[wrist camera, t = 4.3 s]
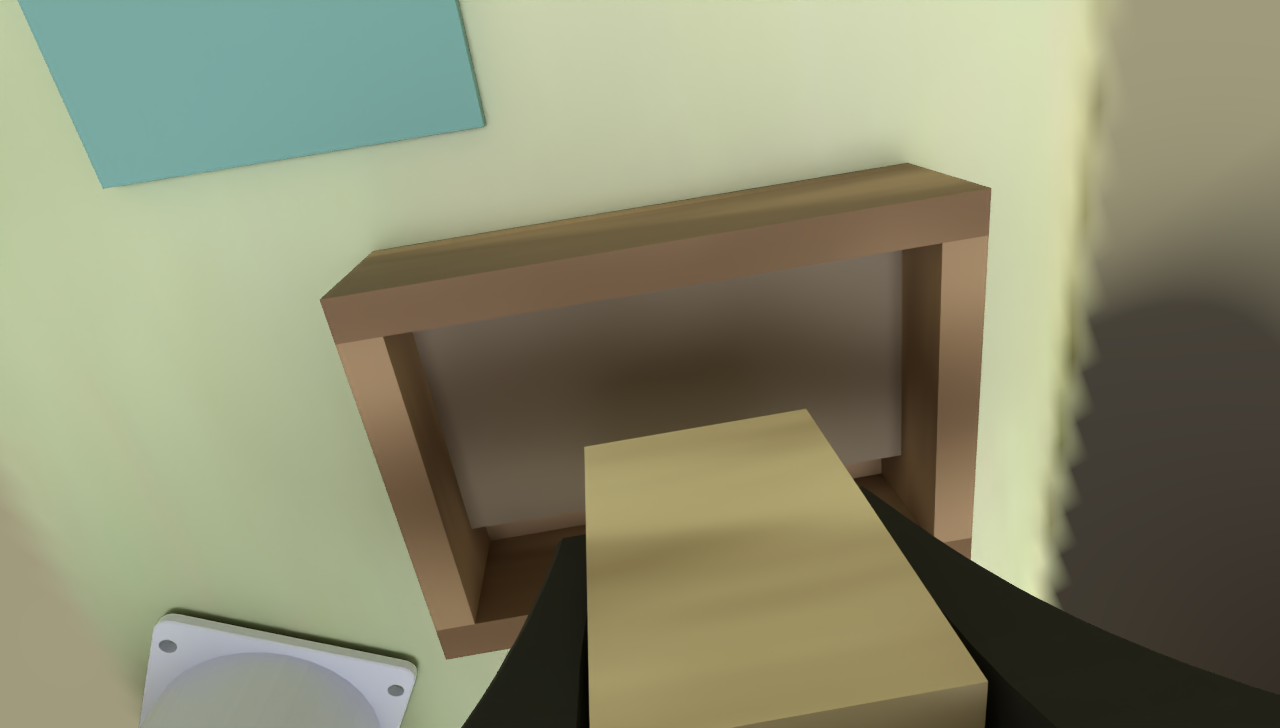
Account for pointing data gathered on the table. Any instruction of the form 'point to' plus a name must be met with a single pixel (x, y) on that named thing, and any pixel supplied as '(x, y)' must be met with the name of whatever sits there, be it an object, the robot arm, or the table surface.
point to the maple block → (757, 591)
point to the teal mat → (251, 78)
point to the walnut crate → (662, 362)
